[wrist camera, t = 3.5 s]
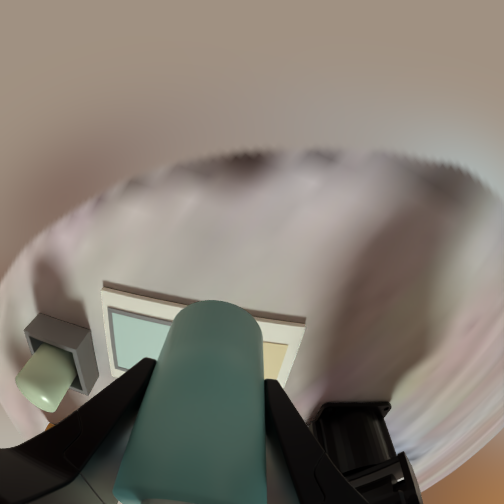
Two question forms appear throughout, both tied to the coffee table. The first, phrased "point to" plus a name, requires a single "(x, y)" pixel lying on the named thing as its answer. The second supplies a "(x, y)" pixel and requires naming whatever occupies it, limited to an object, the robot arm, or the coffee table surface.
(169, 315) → the colouring sheet
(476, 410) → the coffee table surface
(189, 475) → the teal marker
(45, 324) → the frame
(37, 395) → the button
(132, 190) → the coffee table surface
